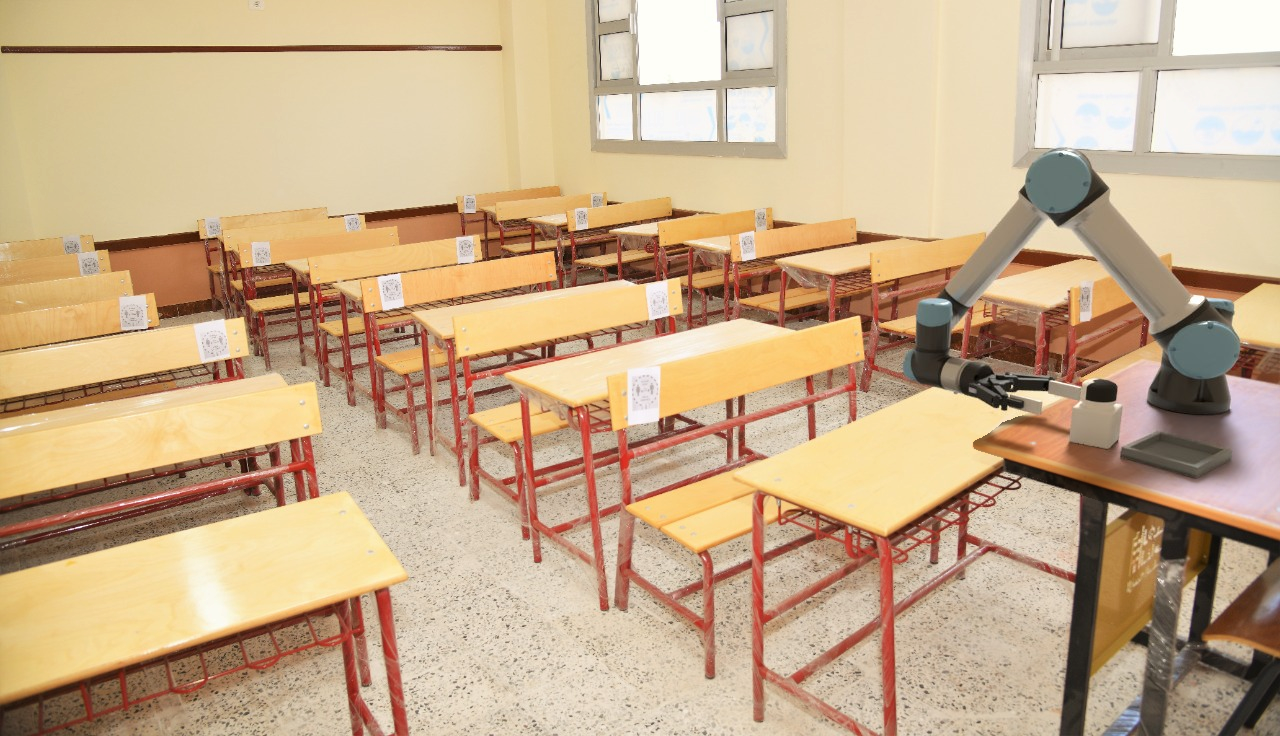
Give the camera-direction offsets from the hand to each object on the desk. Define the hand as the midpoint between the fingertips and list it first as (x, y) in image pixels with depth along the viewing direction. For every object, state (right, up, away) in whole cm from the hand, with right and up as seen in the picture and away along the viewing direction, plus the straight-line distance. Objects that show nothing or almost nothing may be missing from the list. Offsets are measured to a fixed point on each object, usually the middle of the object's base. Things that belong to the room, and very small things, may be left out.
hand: (1061, 400), depth 175 cm
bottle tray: (+14, -10, -14) cm, 22 cm away
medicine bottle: (+5, -8, -4) cm, 10 cm away
